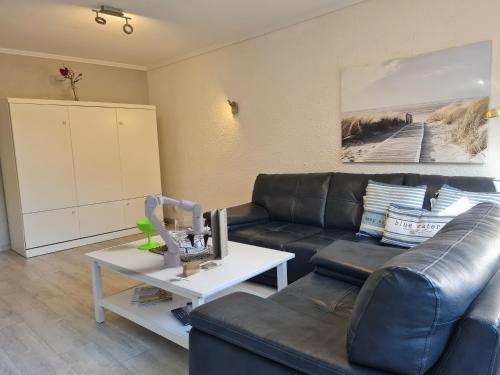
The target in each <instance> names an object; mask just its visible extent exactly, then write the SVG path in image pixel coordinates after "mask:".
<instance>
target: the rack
mask: <svg viewBox="0 0 500 375" xmlns="http://www.w3.org/2000/svg"><path fill="white" fill-rule="evenodd" d="M206 262H207V263H206ZM211 262H212V261H209V262H208V260H204V261H200V262H199V268H202V266H204V265H206V264H209V263H211ZM203 263H205V264H203ZM201 264H202V265H201ZM219 266H222V264H217V265H216V266H214V267H211V268H209V269H206V270H204V271H205V272H207V271H209V270H212V269H215V268H217V267H219Z"/></svg>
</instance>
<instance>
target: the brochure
mask: <svg viewBox="0 0 500 375" xmlns="http://www.w3.org/2000/svg"><path fill="white" fill-rule="evenodd" d="M210 221H211V224H210V225H211V243H212V260H214V259H215V258H216V257H217V256H220V259H221V260H223V259H224V258H225V257H228V255H229V242H228V241H229V240H228V217H227V207H224V208H223V209H221V210H220V209H219V207H216V208H215V209H212V210H211V211H210Z"/></svg>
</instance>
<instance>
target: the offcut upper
mask: <svg viewBox="0 0 500 375" xmlns="http://www.w3.org/2000/svg"><path fill="white" fill-rule="evenodd" d="M210 262H211V263H210ZM210 262H208V263H209V264H207V263H205V264H206V265H204V264H203V265H204V266H202V265H201V266H202V267H201V268H205V269H206V270H208V269H209V270H210V268H213V266H214V267H215V265H216V266H218V264H217V262H213V261H210Z"/></svg>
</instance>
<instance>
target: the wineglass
mask: <svg viewBox="0 0 500 375" xmlns="http://www.w3.org/2000/svg"><path fill="white" fill-rule="evenodd" d="M159 221H160V222H161V220H160V219H159ZM136 227H137V228H138V230H139V231H140V232H142V233H144V234H147V240H148V241H147V242H146V243H143V244H140V245H139V246H138V247H137V248H138V250H141V251H150V250H149V249H151V248H156V247H159V246H161V247H162V246H163V245H162V244H161V243H159V242H152V236H151V235H152V234H151V233H155V232H157V231H156V229H155V228H154V227H153V225H152V224H151V223H150V221H149V220H148V219H143V220H138V221H136Z"/></svg>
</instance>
